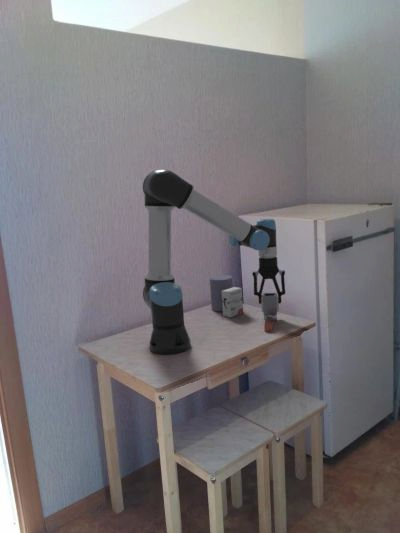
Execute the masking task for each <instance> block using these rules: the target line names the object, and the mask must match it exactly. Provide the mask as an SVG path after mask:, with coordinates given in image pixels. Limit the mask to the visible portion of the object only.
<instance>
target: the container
mask: <svg viewBox="0 0 400 533" xmlns="http://www.w3.org/2000/svg"><path fill="white" fill-rule="evenodd" d="M233 287H234V286H233V277H232V275H225V274H223V275H222V274H221V275H214V276H211V277H209V290H210V301H211V302H210V303H211V310H212V311H215V312H219V311H223V306H222V291H223V290H226V289H230V288H233Z"/></svg>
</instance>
